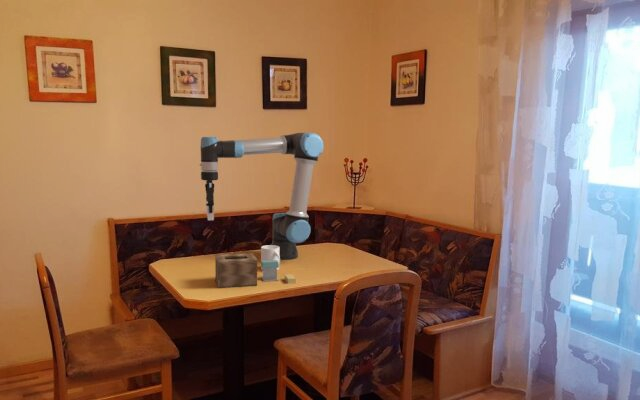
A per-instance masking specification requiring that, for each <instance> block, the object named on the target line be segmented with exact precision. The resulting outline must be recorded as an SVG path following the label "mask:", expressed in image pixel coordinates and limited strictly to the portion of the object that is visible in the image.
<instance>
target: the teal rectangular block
mask: <svg viewBox="0 0 640 400" xmlns="http://www.w3.org/2000/svg"><path fill="white" fill-rule="evenodd" d="M278 263H279V262H278V261H277V260H266V261H261V260H260V268H261V267H262V268H272V267H278Z"/></svg>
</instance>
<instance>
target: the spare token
mask: <svg viewBox="0 0 640 400" xmlns="http://www.w3.org/2000/svg"><path fill="white" fill-rule="evenodd" d="M284 281H285V282H286V283H287V285H291V284H296V283H297V278H296V276H295V275H293V274H292V273H291V274H290V273H289V274H284Z"/></svg>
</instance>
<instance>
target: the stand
mask: <svg viewBox="0 0 640 400" xmlns="http://www.w3.org/2000/svg"><path fill="white" fill-rule="evenodd" d="M260 278H261V279H262V281H263V282H273V281H275V282H276V281H277V282H278V281H279V278H278V270H277V267H272V268H263V270H262V276H261V277H260Z"/></svg>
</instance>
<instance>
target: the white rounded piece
mask: <svg viewBox="0 0 640 400" xmlns="http://www.w3.org/2000/svg"><path fill="white" fill-rule="evenodd" d="M279 251H280V247H279V246H275V245H272V244H269V245H267V244H266V245H262V246H261V247H260V262H261V261H266V260H277V261H278V262H279V263H278V267H277V271H279V269H280V265H281V259H280V256H279ZM260 269H261V270H262V271H263V268H262V267H261V266H260Z"/></svg>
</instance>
